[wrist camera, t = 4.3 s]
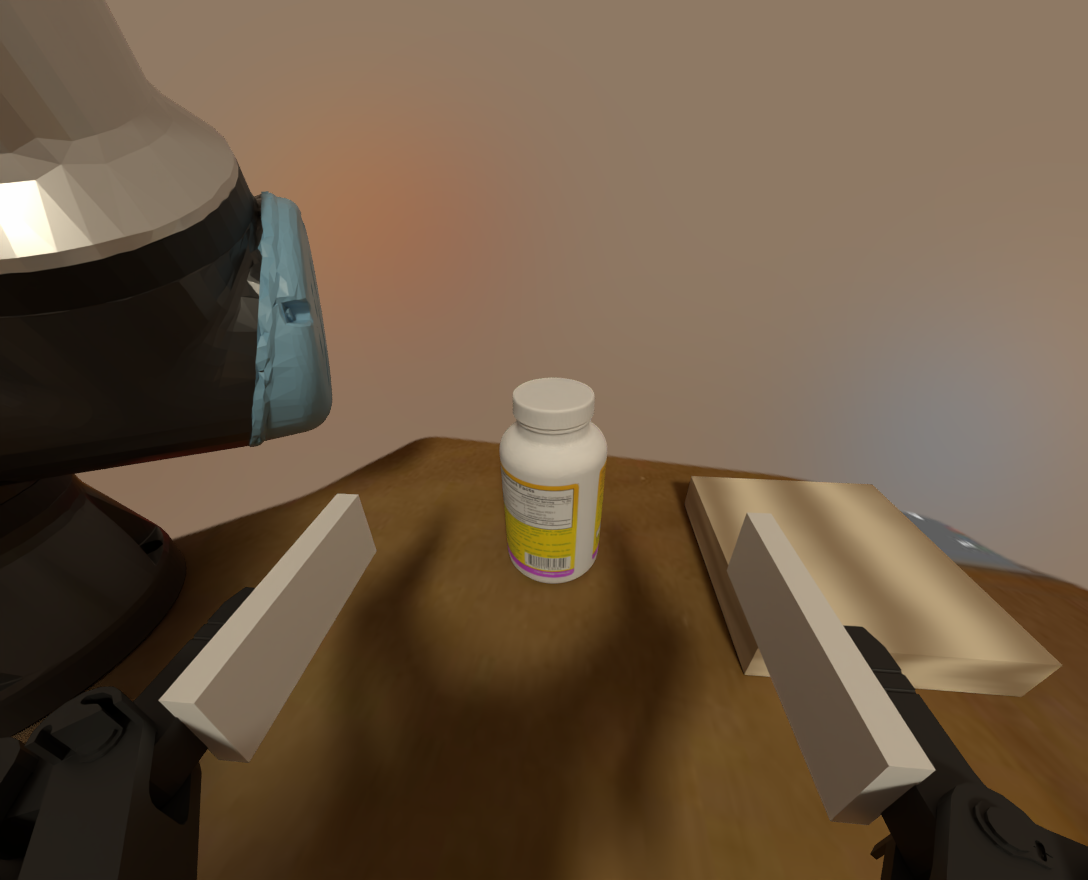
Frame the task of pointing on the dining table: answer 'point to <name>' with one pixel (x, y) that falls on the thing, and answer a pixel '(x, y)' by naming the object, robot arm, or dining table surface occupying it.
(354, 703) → the dining table surface
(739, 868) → the dining table surface
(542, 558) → the supplement bottle
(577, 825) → the dining table surface
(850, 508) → the birch stand
